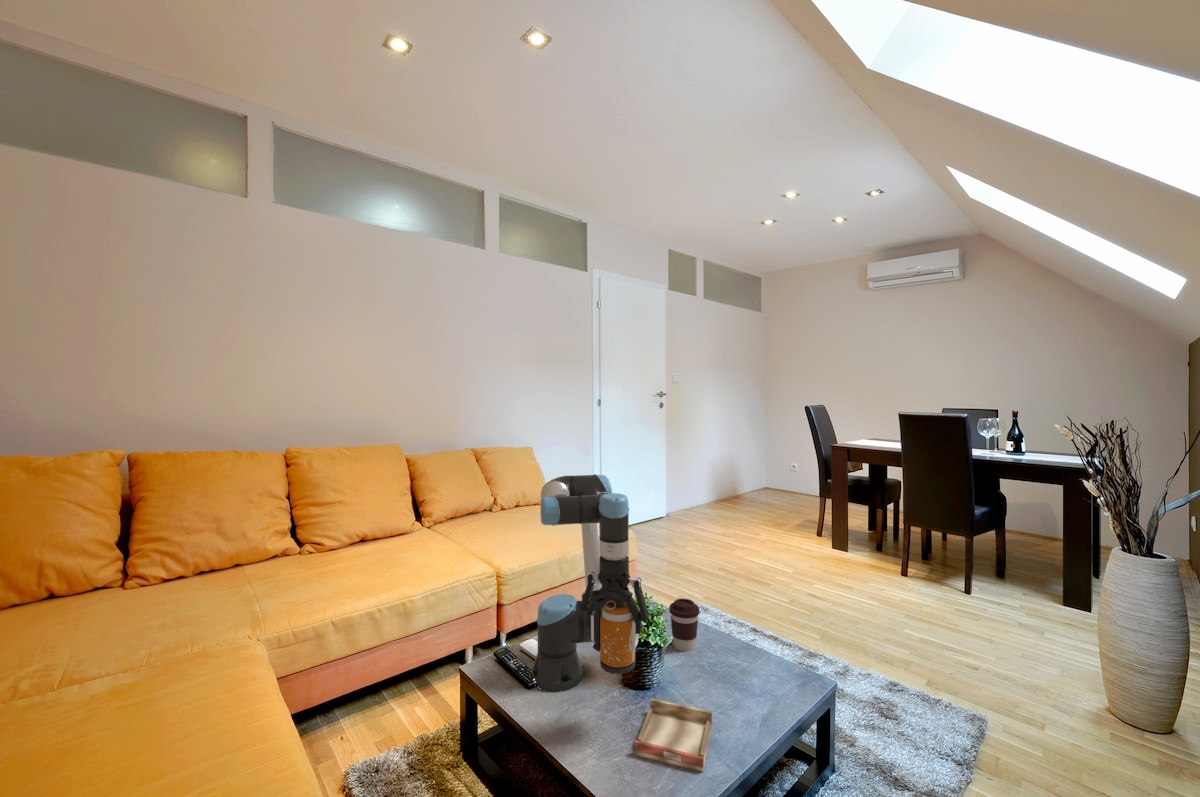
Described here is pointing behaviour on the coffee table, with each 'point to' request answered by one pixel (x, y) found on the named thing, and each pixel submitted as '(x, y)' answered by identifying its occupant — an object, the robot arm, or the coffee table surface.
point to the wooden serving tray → (675, 734)
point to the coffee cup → (684, 624)
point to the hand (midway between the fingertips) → (614, 641)
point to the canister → (614, 632)
